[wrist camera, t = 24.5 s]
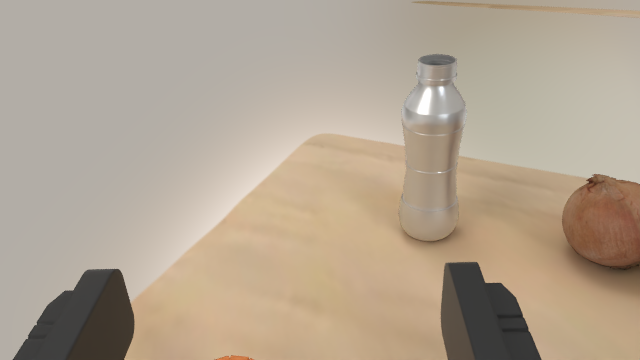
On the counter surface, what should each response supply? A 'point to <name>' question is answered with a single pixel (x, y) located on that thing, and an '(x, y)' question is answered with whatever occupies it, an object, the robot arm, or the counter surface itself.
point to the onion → (605, 221)
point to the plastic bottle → (432, 150)
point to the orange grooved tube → (234, 358)
